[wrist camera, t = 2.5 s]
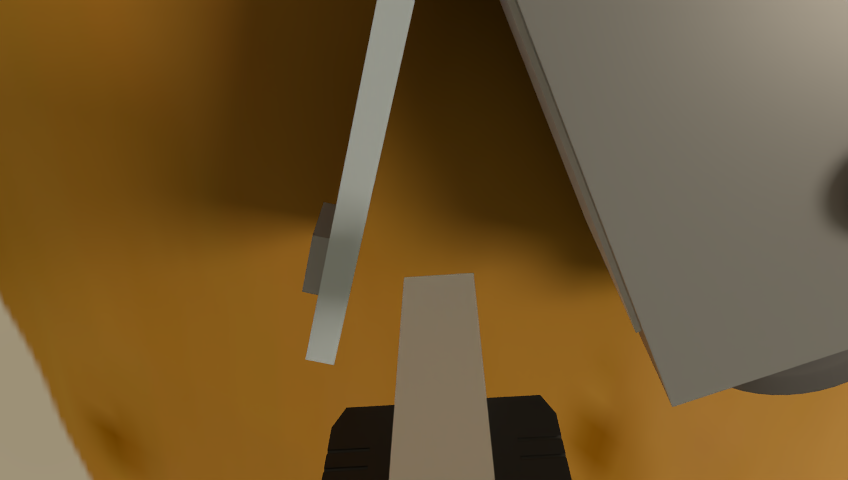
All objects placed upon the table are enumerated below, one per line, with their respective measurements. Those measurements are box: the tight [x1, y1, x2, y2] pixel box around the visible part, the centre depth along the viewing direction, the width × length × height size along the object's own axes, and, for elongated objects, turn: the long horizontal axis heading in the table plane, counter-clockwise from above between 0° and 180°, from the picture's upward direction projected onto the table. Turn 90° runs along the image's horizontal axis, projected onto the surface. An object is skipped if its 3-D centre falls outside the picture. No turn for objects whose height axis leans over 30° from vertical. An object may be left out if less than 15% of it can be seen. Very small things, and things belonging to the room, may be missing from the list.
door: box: [302, 0, 415, 365], centre depth 20 cm, size 13×2×8 cm, turn 167°
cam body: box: [499, 0, 848, 407], centre depth 20 cm, size 19×9×11 cm, turn 25°
